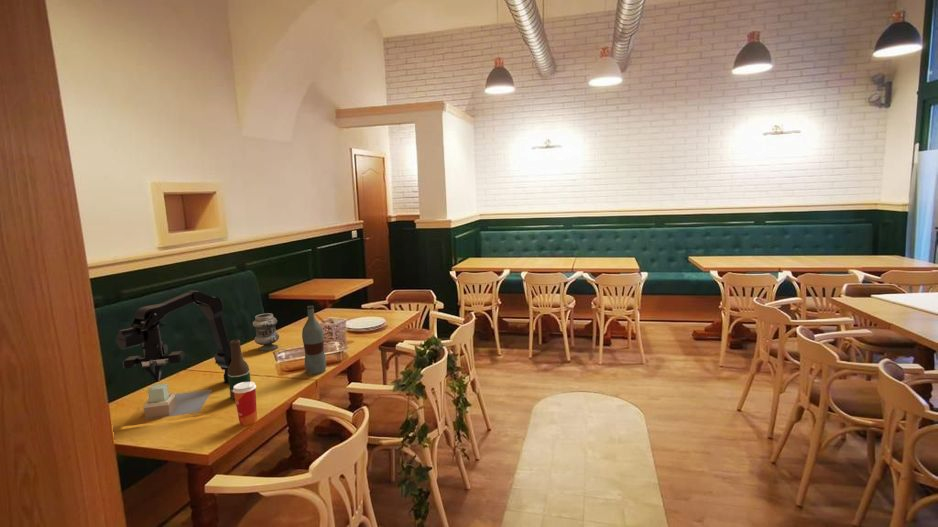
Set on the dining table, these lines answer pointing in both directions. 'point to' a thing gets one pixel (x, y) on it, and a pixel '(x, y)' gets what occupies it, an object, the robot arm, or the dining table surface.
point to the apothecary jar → (265, 332)
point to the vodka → (313, 344)
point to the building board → (177, 404)
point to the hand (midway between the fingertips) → (157, 381)
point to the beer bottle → (237, 367)
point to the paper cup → (246, 402)
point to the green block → (158, 393)
